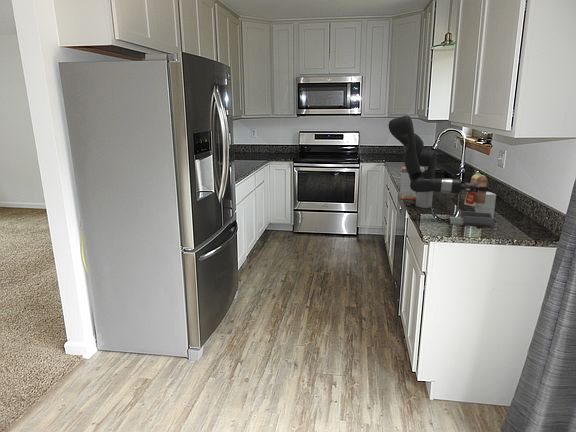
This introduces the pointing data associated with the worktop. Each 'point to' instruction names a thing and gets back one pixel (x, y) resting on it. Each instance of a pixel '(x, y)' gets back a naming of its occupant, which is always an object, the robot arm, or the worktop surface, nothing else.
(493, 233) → the worktop surface
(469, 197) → the milk carton
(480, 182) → the yam
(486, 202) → the supplement box
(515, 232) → the worktop surface
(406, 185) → the cracker box
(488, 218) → the cart bed
